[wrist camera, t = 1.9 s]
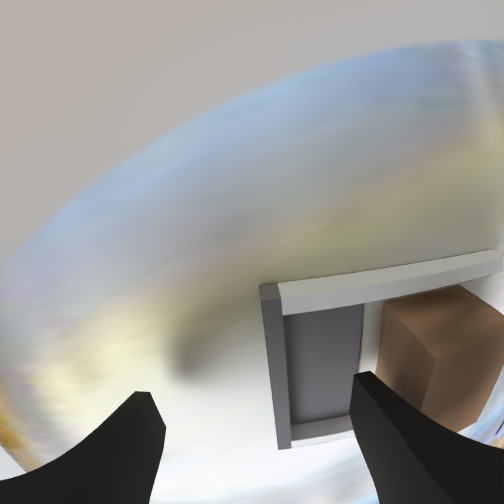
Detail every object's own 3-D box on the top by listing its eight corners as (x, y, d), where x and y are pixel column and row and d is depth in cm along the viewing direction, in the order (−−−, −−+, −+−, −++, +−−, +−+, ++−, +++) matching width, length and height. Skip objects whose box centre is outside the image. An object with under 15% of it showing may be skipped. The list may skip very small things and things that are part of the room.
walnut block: (458, 284, 10) (517, 324, 6) (438, 372, 11) (476, 421, 7) (382, 300, 10) (436, 359, 6) (370, 393, 11) (400, 456, 7)
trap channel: (491, 249, 9) (508, 256, 8) (460, 382, 11) (470, 394, 10) (259, 284, 10) (261, 300, 8) (276, 431, 12) (278, 449, 10)
